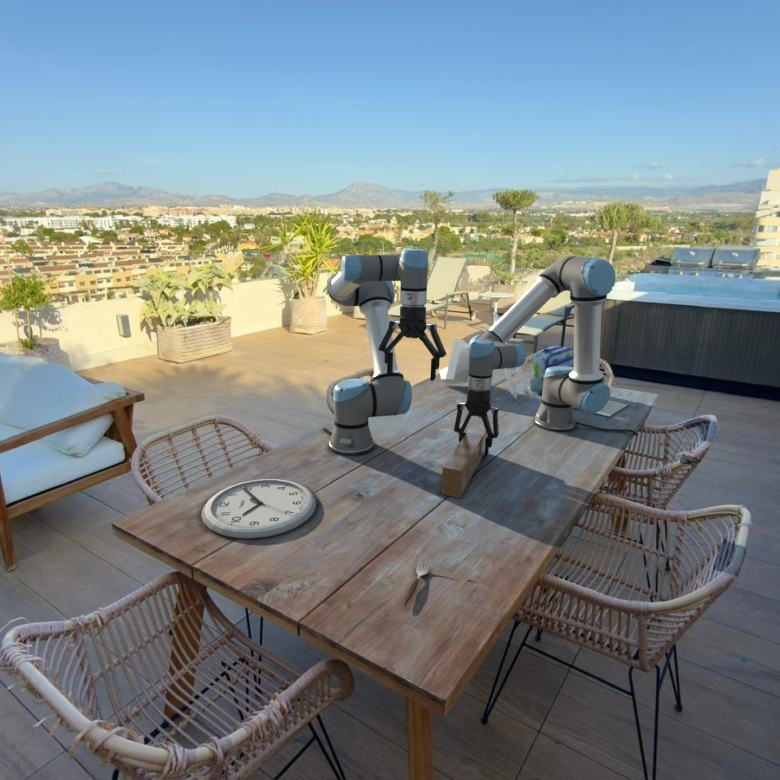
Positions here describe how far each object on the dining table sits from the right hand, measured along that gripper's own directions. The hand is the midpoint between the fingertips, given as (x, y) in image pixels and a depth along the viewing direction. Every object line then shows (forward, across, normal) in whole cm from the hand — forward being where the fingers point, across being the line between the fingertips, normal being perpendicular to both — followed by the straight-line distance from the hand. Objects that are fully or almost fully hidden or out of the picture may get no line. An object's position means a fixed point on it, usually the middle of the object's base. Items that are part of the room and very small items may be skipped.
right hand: (474, 453), depth 175 cm
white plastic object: (+1, -14, +71) cm, 72 cm away
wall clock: (+1, -46, -57) cm, 73 cm away
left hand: (-30, -17, -19) cm, 39 cm away
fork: (+1, +4, -70) cm, 71 cm away
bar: (+1, 0, -13) cm, 13 cm away
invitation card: (+1, +39, +72) cm, 82 cm away
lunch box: (+1, +16, +87) cm, 89 cm away
